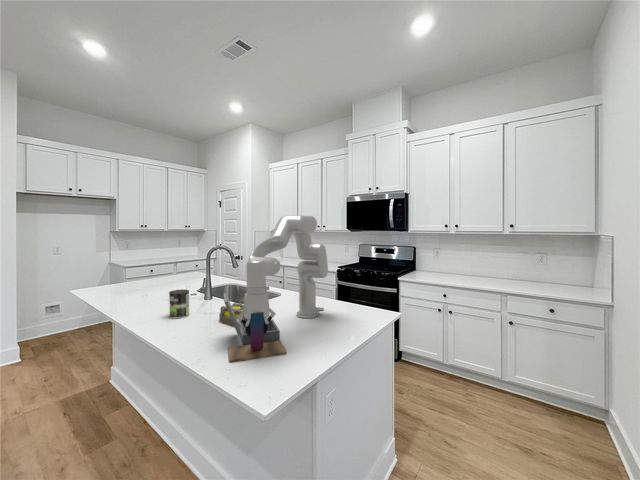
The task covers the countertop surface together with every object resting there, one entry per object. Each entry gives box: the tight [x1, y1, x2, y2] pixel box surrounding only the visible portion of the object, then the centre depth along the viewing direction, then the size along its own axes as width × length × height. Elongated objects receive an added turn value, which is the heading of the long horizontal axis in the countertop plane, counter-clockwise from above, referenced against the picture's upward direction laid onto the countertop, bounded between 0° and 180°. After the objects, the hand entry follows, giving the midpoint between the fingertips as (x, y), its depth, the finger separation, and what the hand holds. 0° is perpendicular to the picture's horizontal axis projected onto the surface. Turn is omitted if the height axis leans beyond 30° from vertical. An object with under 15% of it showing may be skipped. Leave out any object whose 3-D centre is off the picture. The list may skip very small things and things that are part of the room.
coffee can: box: [168, 289, 190, 320], centre depth 163 cm, size 10×10×14 cm
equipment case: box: [236, 319, 281, 346], centre depth 132 cm, size 18×16×12 cm
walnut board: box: [227, 340, 287, 364], centre depth 117 cm, size 22×12×1 cm, turn 110°
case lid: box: [223, 292, 241, 337], centre depth 128 cm, size 16×16×1 cm
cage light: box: [218, 302, 246, 328], centre depth 153 cm, size 15×8×30 cm
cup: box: [249, 312, 265, 350], centre depth 117 cm, size 7×7×15 cm
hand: (256, 333), depth 117 cm, fingers closed on cup, 6 cm apart
